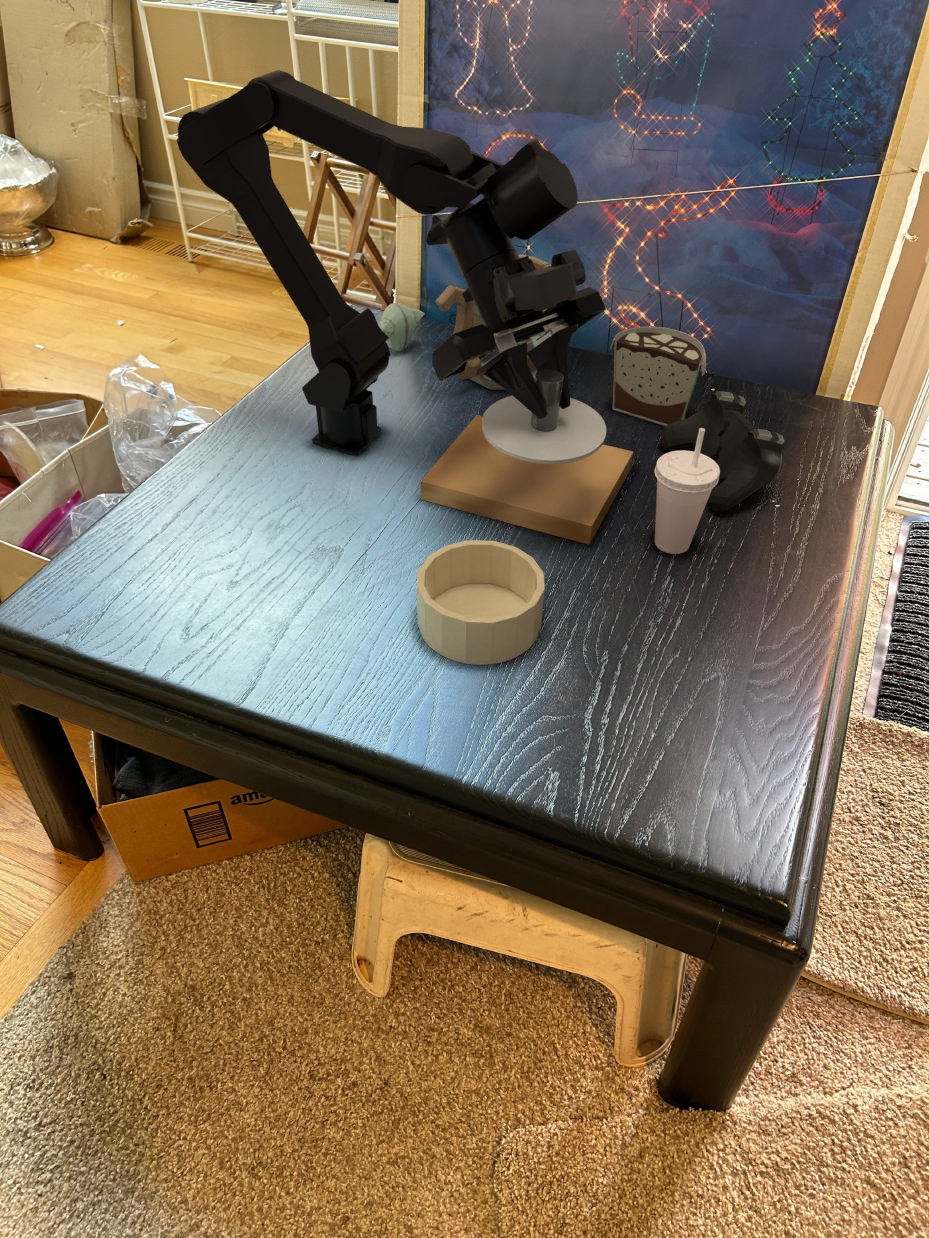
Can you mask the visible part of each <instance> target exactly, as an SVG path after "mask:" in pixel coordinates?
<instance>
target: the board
mask: <svg viewBox="0 0 929 1238" xmlns="http://www.w3.org/2000/svg"><path fill="white" fill-rule="evenodd" d="M482 418H483V415H479V414H476V415H475V416H474V417H473V419H472V420H471V421H470V422H469V423H468V425H467V426H466V427H465V428H464V429H463V431H461V433H460V434H459V435H458V436H457V437H456V439H455V440H454V441H453V442H452V443H451V445H450V446H449V447H448V448H447V450H445V452H444V453H443V454H442V455H441V457H440V458H439V459H438V460H437V461H436V462H435V464H433V466H432V467H431V468H430V470H429V471H428V472H427V473H426V474H425V475H424V476H423V477H422V479H421V480H420V499H421V500H422V501H425V502H429V503H432V504H436V505H440V506H445V507H448V508H452V509H455V510H458V511H462V512H466V513H470V514H473V515H477V516H481V517H484V518H488V519H493V520H496V521H500V522H504V523H507V524H510V525H515V526H518V527H522V528H525V529H529V530H534V531H537V532H541V533H544V534H547V535H552V536H556V537H559V538H562V539H567V540H569V541H574V542H578V543H581V544H585V545H588V546H589V545H590V544H591V543H592V540H593V539H594V537H595V535H596V533H597V532H598V530H599V528H600V527H601V524H602V522H603V521H604V519H605V517H606V516H607V514H608V512H609V510H610V508H611V506H612V504H613V503H614V501H615V499H616V498H617V495H618V494H619V492H620V490H621V488H622V486H623V484H624V483H625V481H626V479H627V477H628V475H629V474H630V472H631V470H632V465H633V459H634V458H633V457H634V451H632V450H629V449H625V448H620V447H616V446H611V445H607V444H603V445H602V446H601V447H600V449H599V450H597V451H596V452H595V453H593V454H592V455H590V456H588V457H586V458H584V459H581V460H578V461H574V462H570V463H562V464H540V463H532V462H527V461H523V460H519V459H516V458H513V457H511V456H508V455H506V454H504V453H502V452H500V451H499V450H497V449H496V448H495V447H493V446H492V445H491V444H490V443H489V442H488V441H487V439H486V438H485V436H484V434H483V431H482Z"/></svg>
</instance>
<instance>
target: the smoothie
mask: <svg viewBox="0 0 929 1238" xmlns="http://www.w3.org/2000/svg"><path fill="white" fill-rule="evenodd" d="M704 432H705V429H704V428H700V429H699V433H698V437H697V442H696V447H695V449H694V451H692V450H682V451H672V452H666V453H664V454H662V455H660V456H659V458H658V459H657V460H656V465H655V468H654V476H655V477H656V479H657V481H656V498H655V499H656V503H655V506H656V507H655V522H654V523H655V524H654V525H655V526H654V527H655V528H654V529H655V530H654V544H655V547H656V548H657V549H658V550H660V551H661V552H663V553H666V554H670V555H679V554H683V553H685V552H687V551H688V550H689V548H690V546H691V544H692V541H693V538H694V537H695V533H696V531H697V529H698V526H699V523H700V520H701V518H702V516H703V513H704V511H705V508H706V506H707V503H708V498H709V496H710V493H711V491H712V490H713V489H714V488H716V487H717V485H718V484H719V480H720V478H719V474H720V469H719V466H718V465H717V463H716V462H715V461H714V460H712V459H711V458H709V457H708V456H706V455H703V454H701V453H700V451H701V446H702V441H703V437H704Z"/></svg>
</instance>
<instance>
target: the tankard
mask: <svg viewBox="0 0 929 1238" xmlns="http://www.w3.org/2000/svg"><path fill="white" fill-rule="evenodd" d="M518 256H519V259H520V258H523V257H526V256H528V257H529V259H531V260H532V261H533V264H534V266H535V268H536V269H541V268H545V267H548V266H551V263H550V262H548V261H545V260H543V259H540V258H537V257H535V256H533V255H531V254H530V255H527V254H518ZM465 290H466V289H464V288H459V287H456V286H454V285H450V284H449V285H448V286H447V287H446V288H445V289H444V290H443V291H442V293H441V294H440V295H439V296H438V297H437V298H436V299H435V304H436V305H437V307H438V309H439V310H440V311H442V312H445V313H446V312H448V311H449V310H450V309H451V307H452V306H453V305H454V304H456V315H455V316H456V317H455V318H456V319H455V326H454V329H453V333H452V335H453V334H454V333H457V332H460V331H463V330H466V329H469V328H472V327H474V326H477V325H480V324H483V325H484V323H483V320H482V318H481V316H480V314H479V311H478V309H477V307H476V305H475V302H474V301H471V302H468V303H466V302H465V299H464V297H463V295H462V293H463V292H464V291H465ZM546 310H547V309H546ZM544 311H545V310H543V311H542V312H544ZM531 328H532V327H531ZM528 329H529V328H528ZM525 330H526V329H525ZM525 342H527V352H529V351H530V350H532V349H533V348H534V346H533V344H532V342H531V340H530V338H529V339H526V340H523V341H521V342H518V343H517V345H520V344H523V343H525ZM527 364H528V366H529V369H530V371H531V373H532V376H533V378H534V380H535V374H536V373H537V372H538V371H537V370H536V368H535V366H534V365H533V363H532V361H531V360H530V358H529V356H528V355H527ZM481 367H482V365H481V362H480V359H479V357H477V358H474V359H471V360H469V361H467V364H466V367H465V370H464V372H462V373H461V374H458V375H455V377H456V378H457V379H459V380H462V381H463V380H468V379H469V380H471V381H473V382H475V384H478V385H480V386H482V387H484V388H486V389H488V390H490V391H491V390H492V391H506V390H505V389H504V388H502V387H501V386H499V385H498V384H497V383H495V382H494V381H492V380H491V379H490V378H488V377H487V376H486V375H480V376H478V375H477V373H476V371H477V370H478V369H479V368H481Z"/></svg>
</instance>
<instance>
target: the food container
mask: <svg viewBox="0 0 929 1238" xmlns="http://www.w3.org/2000/svg"><path fill="white" fill-rule="evenodd" d="M613 349H614V352H613V353H614V355H613V383H612V384H613V385H612V386H613V387H612V411H616V412H618V413H622V414H625V415H628V416H631V417H635V418H637V419H640V420H641V419H642V420H644V421H647V422H651V423H654V424H657V425H660V426H663V427H666V425H668V424H670V423H673V422H676V421H680V420H683V419H686V416H687V413H688V410H689V406H690V404H691V400H692V397H693V394H694V391H695V388H696V384H697V381H698V378H699V375H700V372H701V376H702V377H703V376H704V375H705V374H706V371H707V353H706V351H705V350H706V349H705V347H704V345H703V343H701V341H700V340H698V339H697V338H696V337H695V336H693V335H690V334H688V333H686V332H684V331H680V330H677V329H673V328H670V327H664V326H663V327H662V326H636V327H631V328H627V329H625V330H621V331H620V332H618V333H617V334H615V336H614V338H613V339H612V341H611V345H610V348H609V351H612V350H613Z"/></svg>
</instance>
